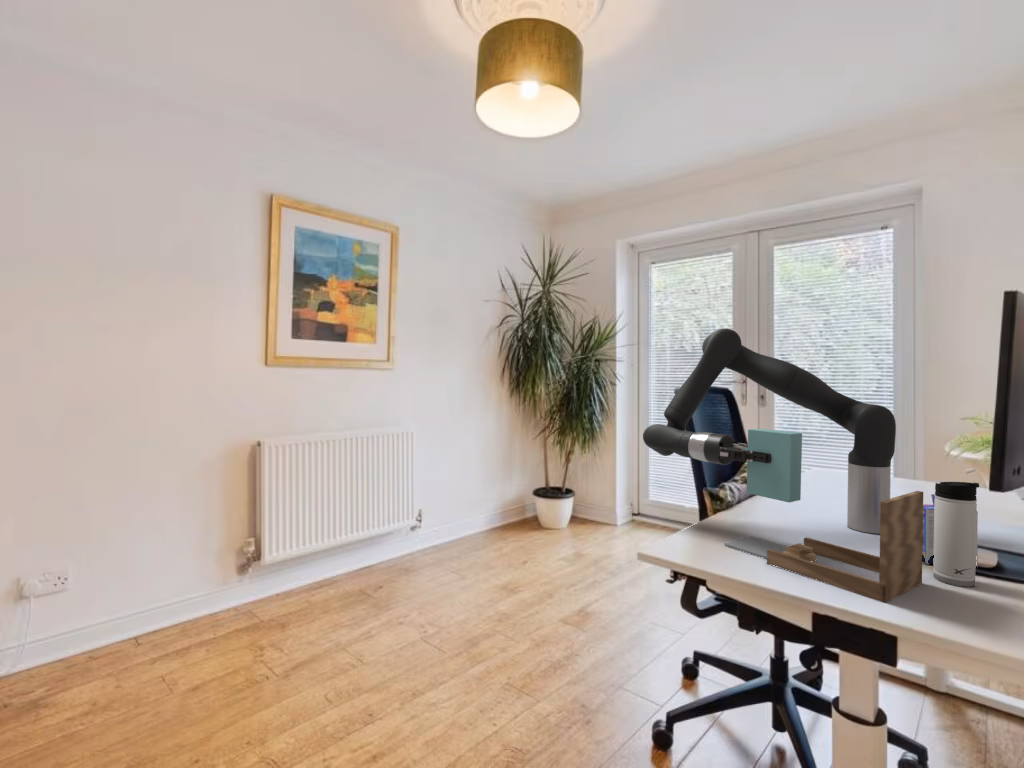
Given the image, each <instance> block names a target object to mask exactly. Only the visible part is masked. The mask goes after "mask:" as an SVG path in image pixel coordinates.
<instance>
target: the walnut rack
mask: <svg viewBox="0 0 1024 768" xmlns="http://www.w3.org/2000/svg"><path fill="white" fill-rule="evenodd" d="M923 504H924V491H921V490H920V491H919V490H915V491H912V492H909V493H905V494H901V495H899V496H895V497H890V499H887V500H884V501H881V503H880V534H879V556H878V555H874V554H871V553H866V552H863V551H859V550H855V549H851V548H848V547H844V546H840V545H837V544H833V543H829V542H825V541H821V540H817V539H814V538H811V537H804V538H803V545H805V546H808V547H812V548H813V553H815V555H817V556H819V557H824V558H826V557H827V559H831V560H834V561H838V562H840V561H841V563H844V564H848V565H851V566H855V567H857V568H860V569H861V568H862V569H866V570H868V571H872V572H875V573H879V579H878V580H879V581H876V580H873V579H869V578H867V577H863V576H861V575H856V574H853V573H850V572H847V571H843V570H841V569H836V568H833V567H830V566H827V565H824V564H820V563H818V562H815V561H813V562H811V561H808V560H804V559H801V558H798V557H794V556H791V555H788V554H784V553H781V552H778V551H775V550H771V549H768V550H767V559H766V564H767V563H769V564H772V565H775V566H778V567H781V568H784V569H783V570H785V569H787V570H786V571H788V570H790V571H789V572H791V571H793V572H792V573H794V572H796V573H795V574H797V573H799V574H798V575H800V574H801V575H800V576H803V575H804V577H806V576H807V577H806V578H809V577H810V578H809V579H812V578H813V579H812V580H815V579H817V580H816V581H818V580H819V581H818V582H821V581H822V582H821V583H824V582H825V583H824V584H827V585H831V586H832V587H833V586H834V587H836V588H840V589H843V590H845V591H849V592H851V593H854V594H857V595H861V596H864V597H867V598H870V599H873V600H876V601H879V602H881V603H888V602H890V601H891V600H893V599H896V598H897V597H899V596H901V595H902V594H905V593H907V592H908V591H911V590H912V589H914V588H916V587H918V586H920V585H922V584H923V562H922V548H923ZM769 564H768V565H769ZM772 565H771V566H772ZM775 566H774V567H775ZM778 567H777V568H778ZM781 568H780V569H781Z"/></svg>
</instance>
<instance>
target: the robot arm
mask: <svg viewBox="0 0 1024 768" xmlns="http://www.w3.org/2000/svg"><path fill="white" fill-rule="evenodd" d="M742 344H743V343H742V340H741V336H740V335H739V334H738V332H737V331H735V330H733V329H732V328H731V329H730V328H720V329H717V330H714V331H713V332H711V333H710V334H709V335H708V336H707V337H706V338H705V339H704V340H703V341H702V345H701V349H702V355H701V358H700V359H699V361H698V363H697V365H696V366H695V368H694V369H693V371H692V372H691V374H689V376H688V377H687V378H686V380H685V381H684V382H683V383H682V385H680V387H679V388H678V390H677V392H676V393H675V395H674V396H673V397H672V399H671V401H670V402H669V404H668V406H667V407H666V408H665V410H664V412H663V416H664V418H665V419H666V420H667V424H666V425H665V424H656V423H655V424H652V425H648V426H647V428H645V429H644V431H643V434H642V439H643V442H644V445H646V446H647V447H648V448H650V449H651V450H653V451H654V452H656V453H658V454H659V455H661V456H664V457H667V456H668V457H669V456H671V455H673V454H676V455H678V456H680V457H684V458H688V459H694V460H698V461H701V462H706V463H711V464H717V465H722V466H727V465H729V464H731V463H732V462H742V463H747V461H750V462H753V461H756V462H762V463H771V454H770V453H763V452H756V451H755V452H754V451H752V450H748V444H746V443H745V442H744V443H742V442H737V443H736V441H735V439H734V438H733V437H732V436H731V435H729V434H723V433H713V432H703V431H702V432H699V431H698V432H696V431H689V430H686V428H687V425H688V423H689V422H690V420H691V418H692V417H693V415H694V414H695V413H696V411H697V409H698V408H699V406H700V404H701V403H702V401H703V399H704V398H705V396H706V395H707V393H708V391H709V390H710V388H711V387H712V385H713V384H714V382H715V381H716V380H717V378H718V377H719V376H720V375H721V373H722V372H723V371H724V369H725V368H726V369H728V370H731V371H733V372H735V373H738V374H740V375H742V376H744V377H746V378H748V379H749V380H752V381H753V382H754V383H756V384H758V385H759V386H761V387H763V388H765V389H767V390H768V391H770V392H771V393H774V394H775V395H778V396H779V397H781V398H783V399H785V400H787V401H789V402H790V403H791V402H792V403H794V404H796V405H798V406H799V407H803V408H805V409H808V410H810V411H812V412H815V413H817V414H820V415H822V416H824V417H826V418H828V419H829V420H831V421H832V422H834V423H835V424H837V425H838V426H841V428H843V429H845V430H846V431H848V432H849V433H851V434H853V435H854V436H853V438H854V439H853V448H852V449H851V451H849V452H848V454H847V455H848V457H847V462H848V463H847V515H846V516H847V517H846V519H847V523H846V524H847V525H846V526H847V528H849V529H853V530H854V531H858V532H863V533H867V534H868V533H869V534H879V535H880V503H881V501H884V500H887V499H891V467H892V466H891V463H892V460H893V457H894V455H895V448H896V433H897V432H896V431H897V424H896V419H895V416H894V414H893V412H892V410H890V409H888V407H885V406H883V405H880V404H875V403H874V404H873V403H866V402H862V401H860V400H856V399H853V398H851V397H849V396H847V395H844V394H843V393H840V392H838V391H836V390H835V389H833V388H832V387H831V386H829V385H828V384H827V383H826V382H825V381H823V380H822V379H820V378H819V377H818V376H816V375H814V374H813V373H811V372H809V370H806V369H804V368H802V367H800V366H798V365H796V364H794V363H791V362H789V361H786V360H783V359H779V358H775V357H774V356H773V357H772V356H768V355H765V354H761V353H758V352H756V351H754V350H752V349H750V348H748V347H746V346H744V345H742Z"/></svg>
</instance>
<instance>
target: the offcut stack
mask: <svg viewBox="0 0 1024 768" xmlns="http://www.w3.org/2000/svg"><path fill="white" fill-rule="evenodd" d="M785 546H786V547H785V551H784V552H783V553H784V554H788V555H791V556H794V557H798V558H801V559H804V560H808V561H813V562H816V561H817V557H816V556H815V555H816V554H815V553H813V548H812V547H808V546H805V545H804V544H803V543H797V544H796V543H795V544H791V545H788V546H787V545H785ZM815 560H816V561H815Z"/></svg>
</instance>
